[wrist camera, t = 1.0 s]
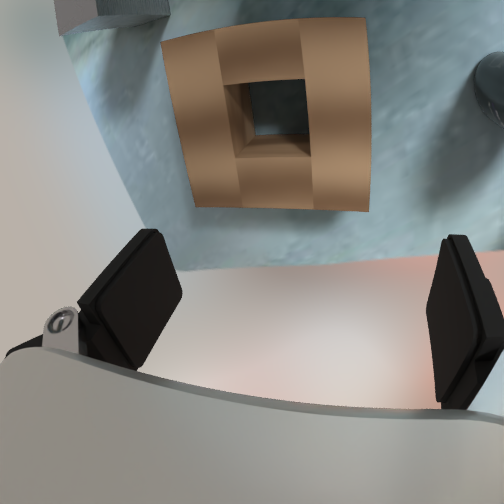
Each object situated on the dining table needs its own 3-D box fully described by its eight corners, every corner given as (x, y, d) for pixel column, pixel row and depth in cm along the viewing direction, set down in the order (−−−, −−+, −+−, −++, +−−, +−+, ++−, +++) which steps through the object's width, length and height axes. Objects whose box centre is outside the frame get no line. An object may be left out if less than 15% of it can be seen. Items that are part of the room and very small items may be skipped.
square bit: (129, -8, 21) (52, -8, 13) (164, -21, 20) (91, -32, 12) (134, 26, 23) (59, 36, 15) (170, 15, 22) (97, 16, 14)
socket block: (195, 39, 23) (160, 42, 19) (360, 23, 19) (365, 17, 14) (220, 177, 31) (195, 207, 27) (365, 179, 27) (368, 212, 23)
